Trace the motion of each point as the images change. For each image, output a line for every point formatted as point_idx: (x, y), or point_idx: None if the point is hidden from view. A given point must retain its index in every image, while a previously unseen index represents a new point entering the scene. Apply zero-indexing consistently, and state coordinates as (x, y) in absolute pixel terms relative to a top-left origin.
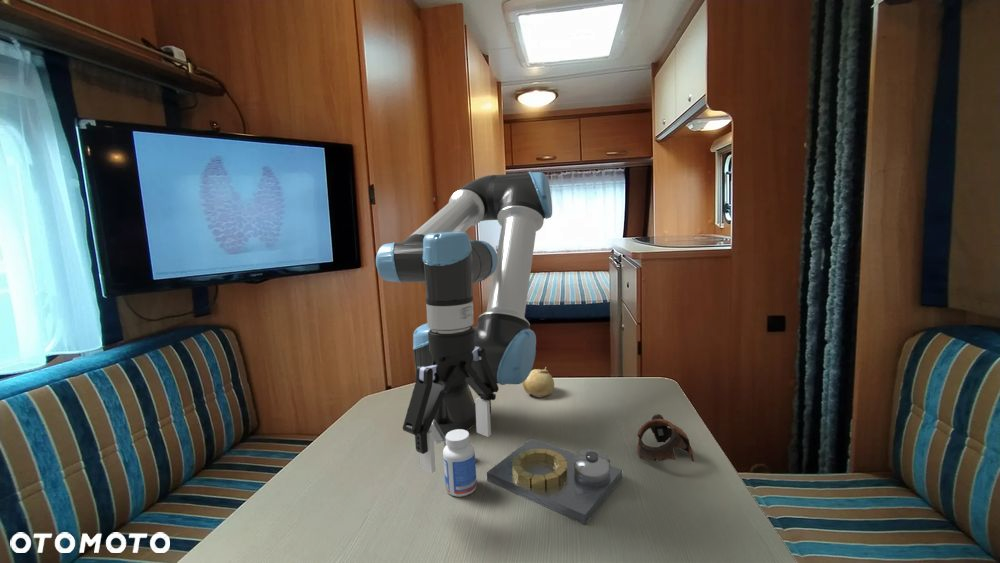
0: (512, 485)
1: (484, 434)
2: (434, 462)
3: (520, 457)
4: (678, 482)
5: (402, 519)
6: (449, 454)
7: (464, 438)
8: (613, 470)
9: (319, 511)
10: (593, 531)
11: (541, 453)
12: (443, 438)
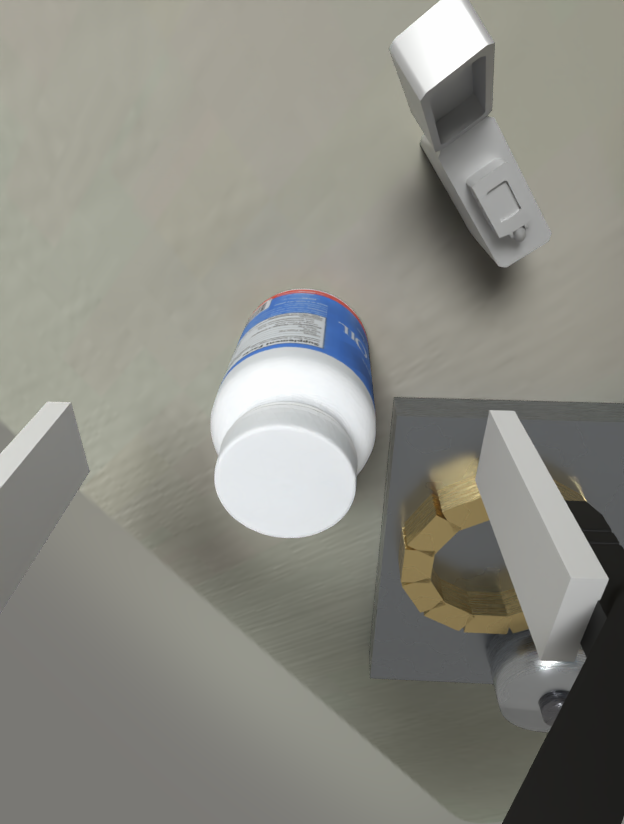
0: (386, 508)
1: (481, 462)
2: (68, 499)
3: None
4: None
5: (42, 290)
6: (218, 442)
7: (278, 535)
8: None
9: None
10: (359, 668)
11: None
12: (454, 136)
